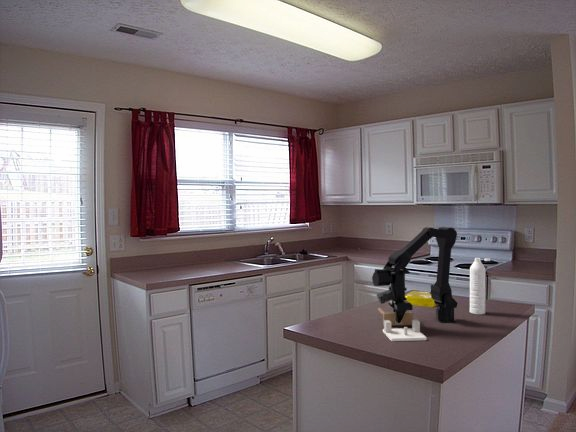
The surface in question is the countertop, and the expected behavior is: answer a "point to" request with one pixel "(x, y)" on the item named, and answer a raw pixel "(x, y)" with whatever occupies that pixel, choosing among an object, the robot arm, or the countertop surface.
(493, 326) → the countertop surface
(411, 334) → the display stand
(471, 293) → the water bottle
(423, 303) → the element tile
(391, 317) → the wooden c-shaped bracket
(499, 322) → the countertop surface
